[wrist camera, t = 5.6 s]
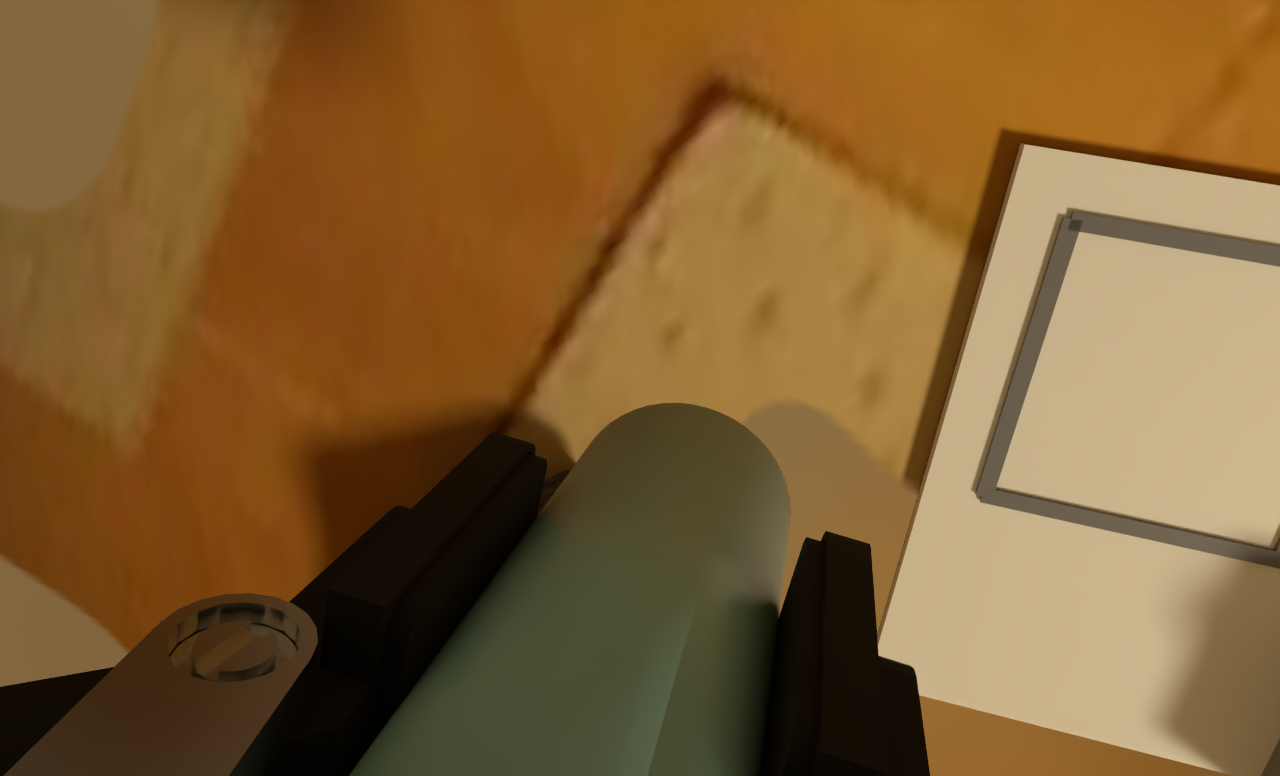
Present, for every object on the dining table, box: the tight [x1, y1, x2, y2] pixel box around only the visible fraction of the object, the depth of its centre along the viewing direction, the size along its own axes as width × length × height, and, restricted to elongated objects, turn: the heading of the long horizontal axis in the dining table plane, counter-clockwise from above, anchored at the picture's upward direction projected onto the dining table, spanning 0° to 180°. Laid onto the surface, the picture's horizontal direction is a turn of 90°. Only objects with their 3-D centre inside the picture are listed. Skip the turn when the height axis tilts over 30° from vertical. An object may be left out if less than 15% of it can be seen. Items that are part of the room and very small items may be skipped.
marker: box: [349, 403, 791, 776], centre depth 8 cm, size 4×4×11 cm
